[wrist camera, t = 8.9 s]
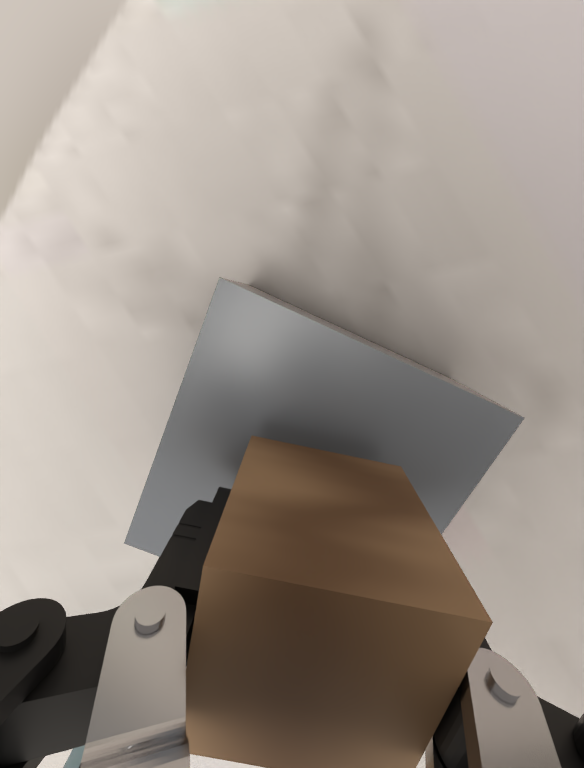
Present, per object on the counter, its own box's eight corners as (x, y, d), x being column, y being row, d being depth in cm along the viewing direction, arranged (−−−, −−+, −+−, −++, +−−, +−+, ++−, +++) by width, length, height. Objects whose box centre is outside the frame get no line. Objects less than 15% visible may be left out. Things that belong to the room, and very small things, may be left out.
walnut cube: (401, 466, 10) (492, 622, 5) (360, 582, 11) (402, 792, 7) (251, 435, 10) (203, 565, 5) (228, 556, 11) (172, 750, 6)
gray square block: (448, 377, 17) (524, 418, 11) (349, 538, 20) (369, 634, 14) (249, 285, 16) (219, 277, 10) (177, 469, 19) (123, 543, 13)
